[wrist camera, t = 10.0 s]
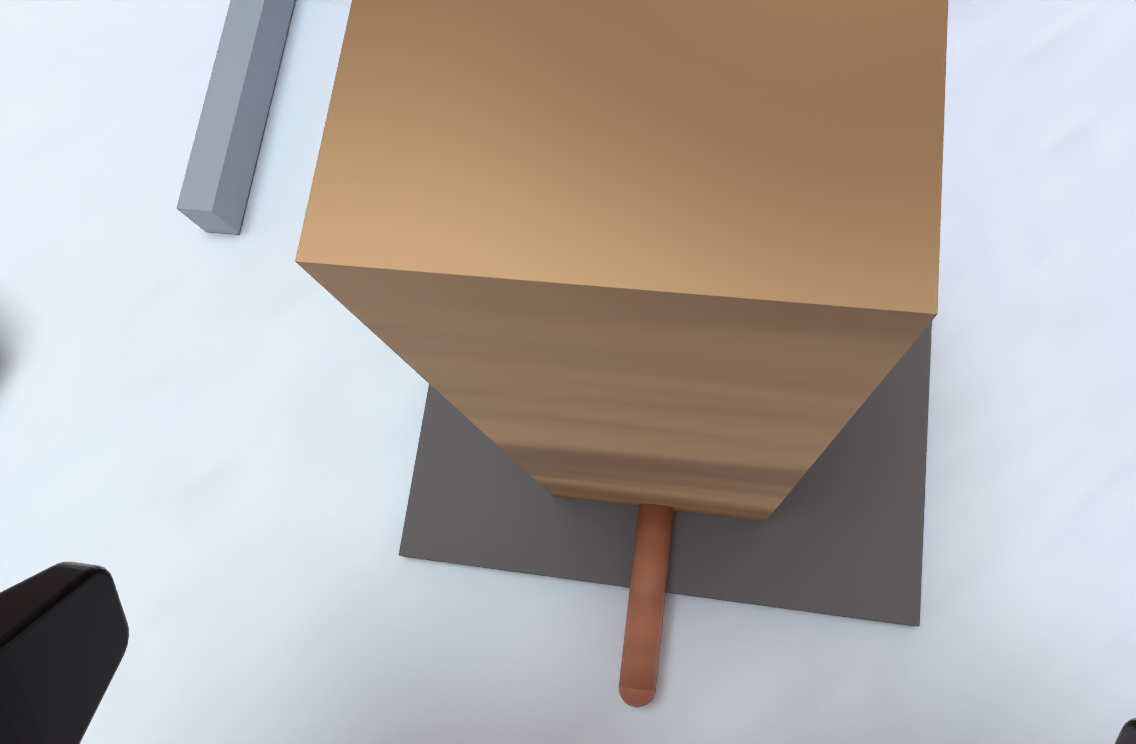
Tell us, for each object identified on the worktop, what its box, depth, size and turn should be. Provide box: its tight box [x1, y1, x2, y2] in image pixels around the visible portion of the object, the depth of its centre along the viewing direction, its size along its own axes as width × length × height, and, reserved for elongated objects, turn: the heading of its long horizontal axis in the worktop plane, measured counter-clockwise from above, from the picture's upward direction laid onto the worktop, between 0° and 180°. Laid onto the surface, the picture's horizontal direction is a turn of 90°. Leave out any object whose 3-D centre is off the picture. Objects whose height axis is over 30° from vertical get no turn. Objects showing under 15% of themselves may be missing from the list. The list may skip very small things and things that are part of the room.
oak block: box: [295, 0, 948, 707], centre depth 14 cm, size 9×5×15 cm, turn 172°
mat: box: [399, 321, 932, 626], centre depth 22 cm, size 8×12×1 cm, turn 82°
